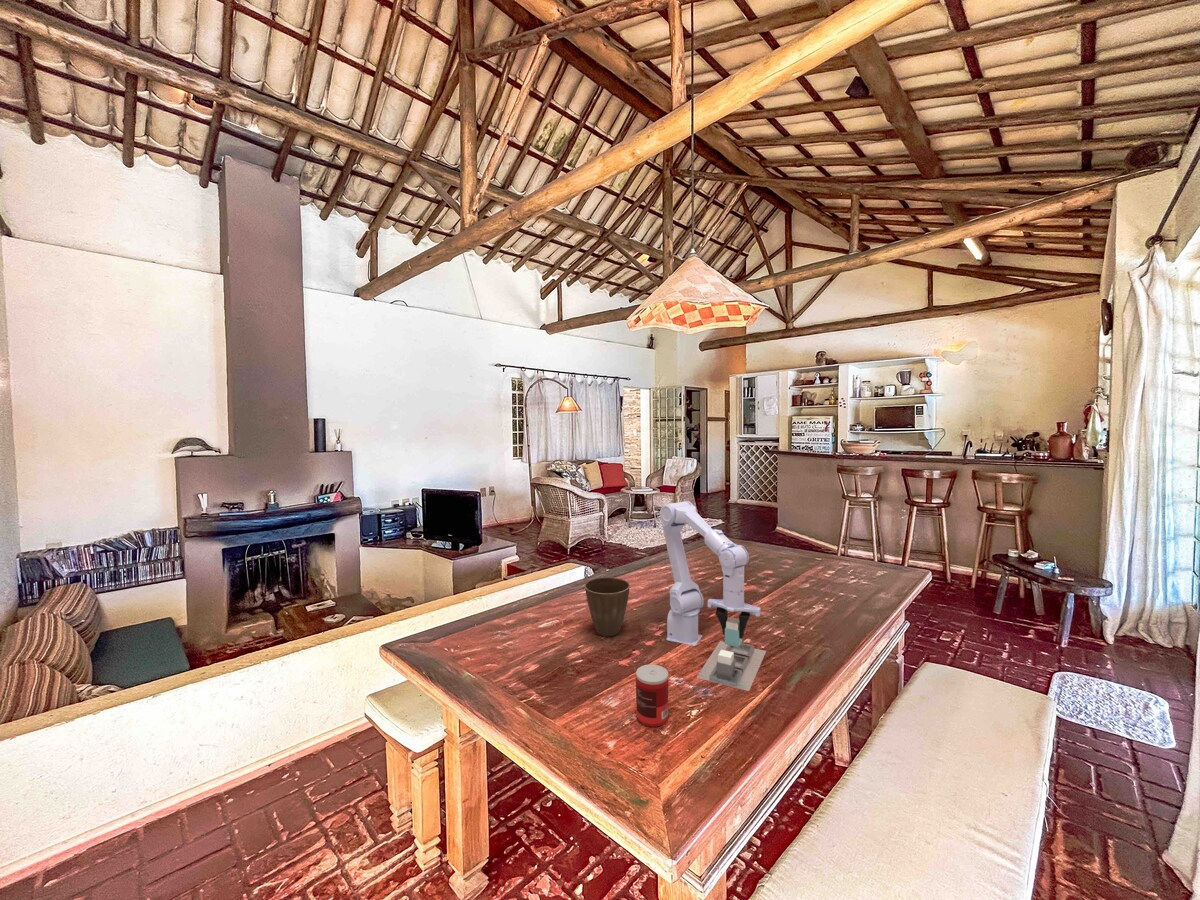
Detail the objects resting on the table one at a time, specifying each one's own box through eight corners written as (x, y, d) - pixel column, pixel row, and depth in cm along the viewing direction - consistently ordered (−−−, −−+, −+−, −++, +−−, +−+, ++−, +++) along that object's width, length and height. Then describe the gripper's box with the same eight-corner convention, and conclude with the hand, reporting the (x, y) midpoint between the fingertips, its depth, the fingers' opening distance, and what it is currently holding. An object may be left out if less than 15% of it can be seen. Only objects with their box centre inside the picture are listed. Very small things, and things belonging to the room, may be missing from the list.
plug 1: (724, 643, 136) (724, 621, 136) (728, 638, 139) (728, 616, 139) (738, 647, 134) (739, 624, 134) (742, 641, 137) (742, 619, 137)
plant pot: (626, 644, 150) (626, 594, 149) (580, 640, 153) (580, 591, 152) (632, 624, 165) (632, 578, 164) (590, 620, 168) (590, 576, 167)
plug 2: (716, 678, 129) (716, 655, 129) (720, 671, 133) (720, 648, 132) (731, 682, 127) (731, 658, 127) (735, 675, 131) (735, 652, 130)
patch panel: (696, 678, 130) (696, 673, 130) (720, 642, 151) (720, 637, 151) (748, 692, 123) (748, 687, 123) (766, 652, 144) (766, 647, 144)
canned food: (665, 706, 118) (665, 663, 117) (671, 727, 110) (671, 681, 109) (634, 707, 118) (634, 664, 117) (638, 728, 110) (637, 682, 109)
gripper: (704, 589, 136) (704, 635, 136) (757, 598, 128) (756, 647, 129) (711, 581, 142) (711, 626, 143) (762, 589, 135) (761, 636, 135)
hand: (733, 635), depth 136 cm, fingers closed on plug 1, 4 cm apart
